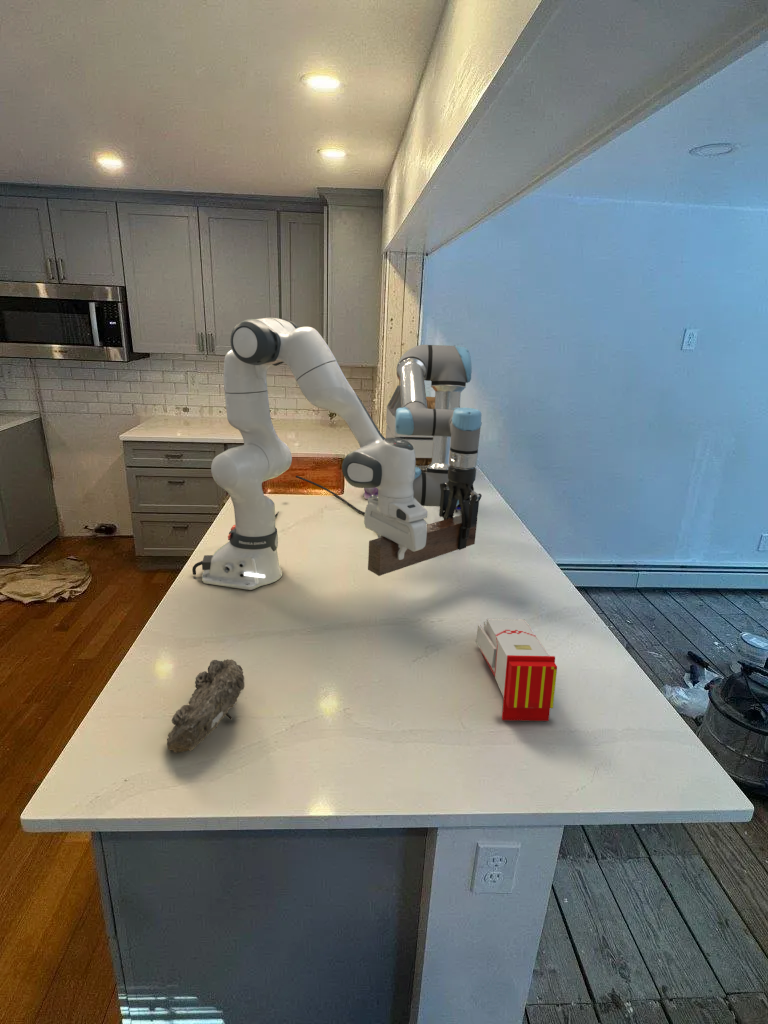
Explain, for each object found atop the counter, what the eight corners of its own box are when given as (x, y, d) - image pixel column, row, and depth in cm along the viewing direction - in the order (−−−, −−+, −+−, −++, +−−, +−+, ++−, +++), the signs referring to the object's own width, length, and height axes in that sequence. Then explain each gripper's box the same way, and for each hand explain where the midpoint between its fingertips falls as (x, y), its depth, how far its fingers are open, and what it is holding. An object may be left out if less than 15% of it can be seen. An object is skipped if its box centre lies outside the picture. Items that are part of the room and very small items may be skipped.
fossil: (192, 660, 117) (244, 628, 112) (224, 691, 120) (276, 661, 115) (142, 746, 98) (202, 712, 93) (182, 779, 101) (242, 748, 96)
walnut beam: (367, 569, 145) (368, 540, 142) (463, 539, 167) (465, 513, 164) (379, 576, 142) (380, 546, 139) (474, 544, 164) (477, 518, 161)
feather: (286, 506, 225) (288, 502, 225) (268, 529, 199) (271, 525, 198) (282, 503, 225) (284, 499, 225) (264, 526, 199) (267, 522, 198)
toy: (523, 604, 135) (566, 662, 106) (518, 656, 138) (559, 727, 109) (472, 603, 135) (501, 661, 105) (468, 655, 138) (496, 726, 108)
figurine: (368, 501, 231) (369, 466, 226) (357, 494, 239) (358, 459, 234) (388, 499, 235) (390, 464, 230) (377, 492, 244) (378, 458, 239)
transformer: (382, 463, 289) (386, 382, 275) (445, 464, 293) (451, 384, 279) (390, 482, 257) (394, 392, 243) (460, 483, 261) (468, 394, 247)
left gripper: (359, 494, 146) (357, 543, 151) (413, 518, 132) (409, 572, 137) (378, 490, 150) (375, 538, 155) (432, 513, 136) (428, 565, 140)
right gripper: (429, 460, 157) (424, 538, 166) (478, 476, 145) (469, 559, 153) (448, 457, 162) (442, 532, 170) (496, 472, 150) (487, 552, 158)
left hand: (392, 554), depth 146 cm, fingers closed on walnut beam, 4 cm apart
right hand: (455, 545), depth 162 cm, fingers closed on walnut beam, 4 cm apart
